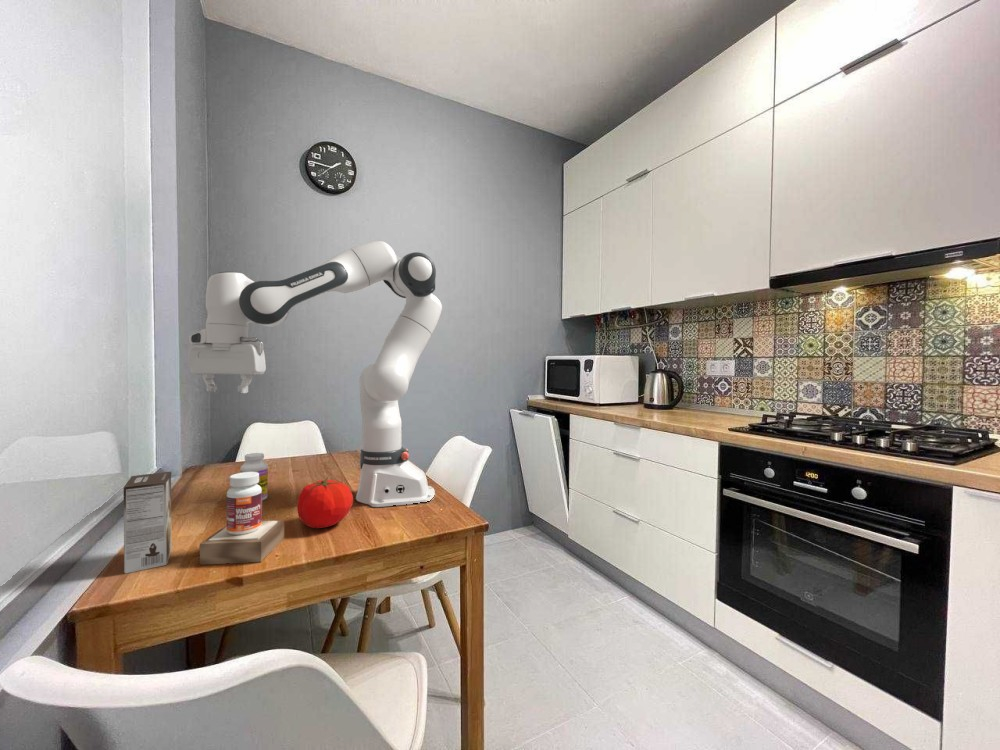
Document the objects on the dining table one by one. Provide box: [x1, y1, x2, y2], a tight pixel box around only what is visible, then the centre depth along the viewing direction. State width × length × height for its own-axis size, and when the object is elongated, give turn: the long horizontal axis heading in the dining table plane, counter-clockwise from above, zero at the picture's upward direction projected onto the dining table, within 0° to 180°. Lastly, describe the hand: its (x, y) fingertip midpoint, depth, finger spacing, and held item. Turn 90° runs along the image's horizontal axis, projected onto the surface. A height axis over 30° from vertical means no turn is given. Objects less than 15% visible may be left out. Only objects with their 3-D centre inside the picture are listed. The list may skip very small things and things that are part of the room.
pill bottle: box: [225, 472, 263, 535], centre depth 84 cm, size 6×6×11 cm
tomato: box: [296, 476, 354, 529], centre depth 98 cm, size 13×12×11 cm
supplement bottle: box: [239, 452, 269, 502], centre depth 115 cm, size 7×7×13 cm
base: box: [199, 520, 285, 566], centre depth 84 cm, size 11×11×4 cm
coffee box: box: [123, 471, 173, 574], centre depth 79 cm, size 9×6×16 cm
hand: (227, 392), depth 102 cm, fingers open, 8 cm apart
